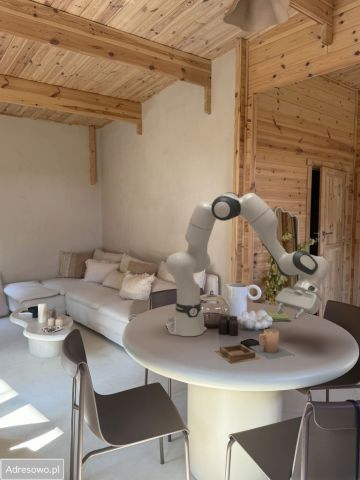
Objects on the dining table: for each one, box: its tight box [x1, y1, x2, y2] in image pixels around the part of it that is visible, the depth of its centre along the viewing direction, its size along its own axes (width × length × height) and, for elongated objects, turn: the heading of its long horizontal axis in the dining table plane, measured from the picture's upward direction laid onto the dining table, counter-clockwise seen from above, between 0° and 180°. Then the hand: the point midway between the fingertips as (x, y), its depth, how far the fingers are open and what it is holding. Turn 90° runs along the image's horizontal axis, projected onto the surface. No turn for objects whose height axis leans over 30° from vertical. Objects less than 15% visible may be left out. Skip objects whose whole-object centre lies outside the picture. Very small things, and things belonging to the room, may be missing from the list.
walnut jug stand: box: [214, 343, 261, 365], centre depth 143 cm, size 13×13×4 cm
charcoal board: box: [249, 344, 295, 360], centre depth 147 cm, size 14×12×2 cm
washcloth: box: [266, 310, 292, 322], centre depth 199 cm, size 13×18×3 cm
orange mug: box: [258, 328, 280, 353], centre depth 147 cm, size 6×8×8 cm
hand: (287, 315), depth 150 cm, fingers open, 8 cm apart
